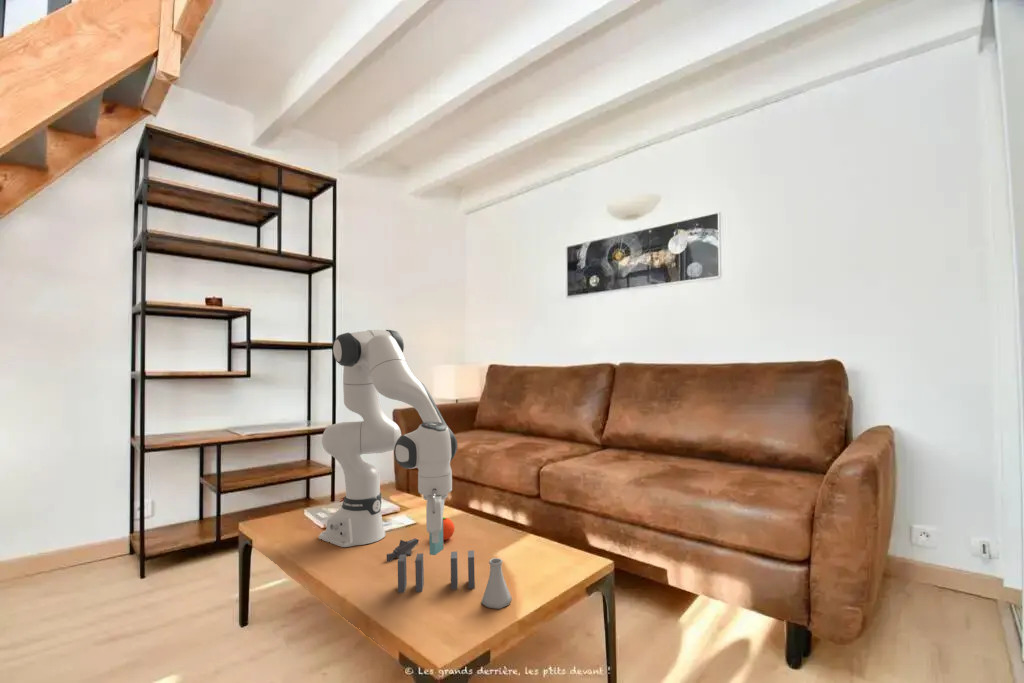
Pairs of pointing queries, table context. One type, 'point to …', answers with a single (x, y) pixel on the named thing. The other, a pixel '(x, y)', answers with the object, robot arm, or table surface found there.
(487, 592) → the flask
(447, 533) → the clementine
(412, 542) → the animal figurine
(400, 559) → the domino
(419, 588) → the domino
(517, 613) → the table surface
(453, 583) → the domino
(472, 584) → the domino
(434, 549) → the domino
